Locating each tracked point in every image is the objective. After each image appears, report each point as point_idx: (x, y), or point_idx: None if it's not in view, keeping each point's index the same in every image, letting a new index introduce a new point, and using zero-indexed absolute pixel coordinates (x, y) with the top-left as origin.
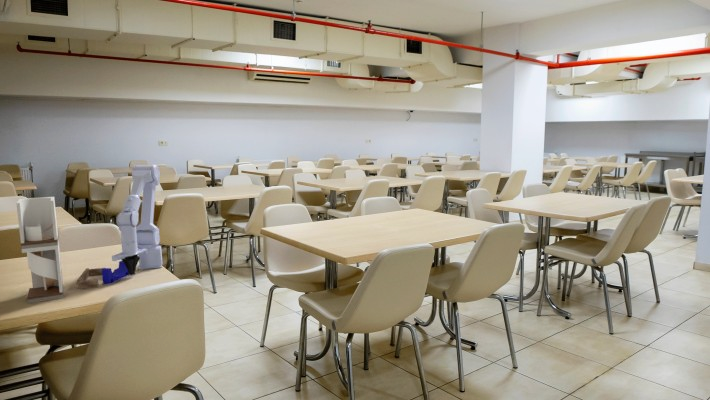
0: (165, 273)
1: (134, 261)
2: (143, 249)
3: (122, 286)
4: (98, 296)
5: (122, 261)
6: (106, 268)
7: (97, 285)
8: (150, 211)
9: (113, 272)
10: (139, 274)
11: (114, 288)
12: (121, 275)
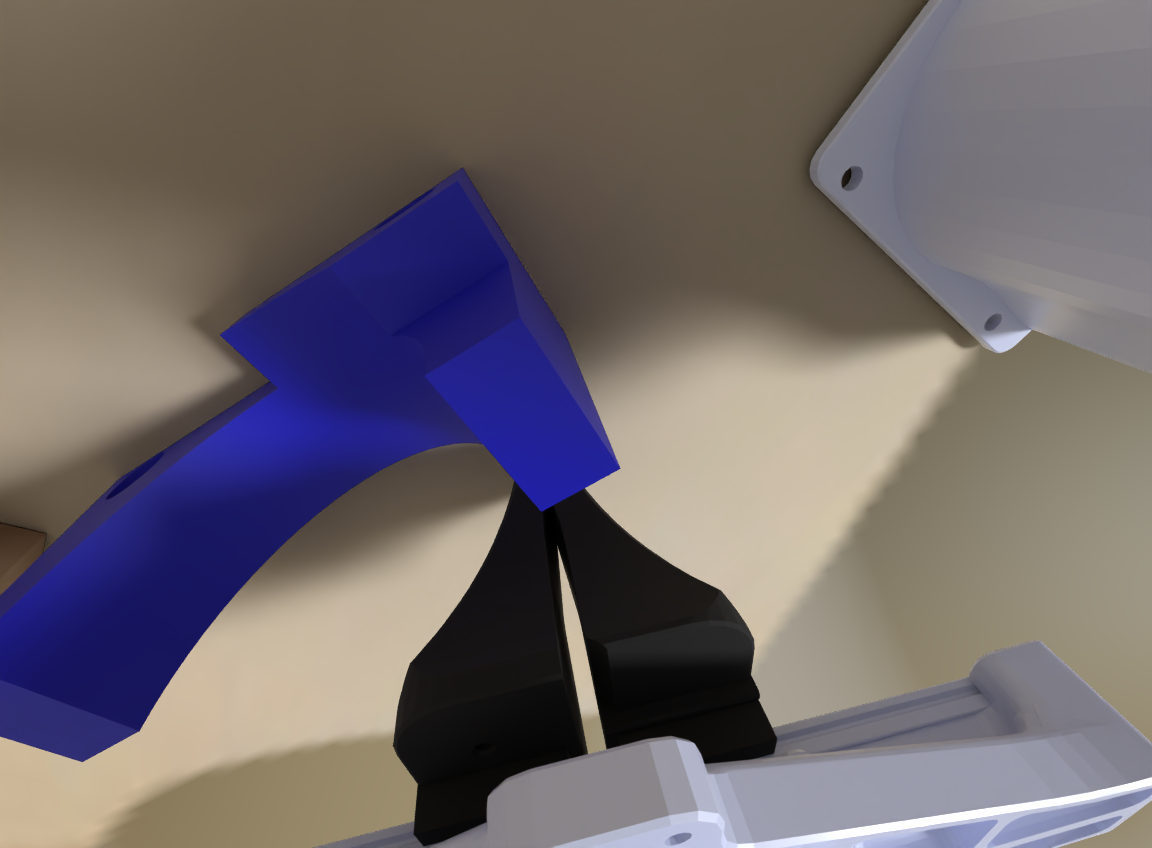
0: (818, 554)
1: (602, 728)
2: (1040, 820)
3: (336, 668)
4: (74, 776)
5: (513, 409)
6: (25, 707)
7: (23, 571)
8: None
9: (307, 294)
10: (663, 417)
11: (249, 680)
12: (413, 449)
